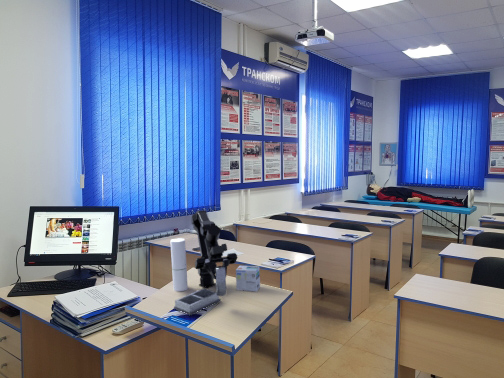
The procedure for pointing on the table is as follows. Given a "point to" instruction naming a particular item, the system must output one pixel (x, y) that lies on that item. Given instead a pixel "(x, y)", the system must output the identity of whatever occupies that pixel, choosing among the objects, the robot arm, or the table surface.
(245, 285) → the light bulb box
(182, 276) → the cylindrical container
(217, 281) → the shiny gray cylinder
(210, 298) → the gray divided tray
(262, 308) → the table surface
